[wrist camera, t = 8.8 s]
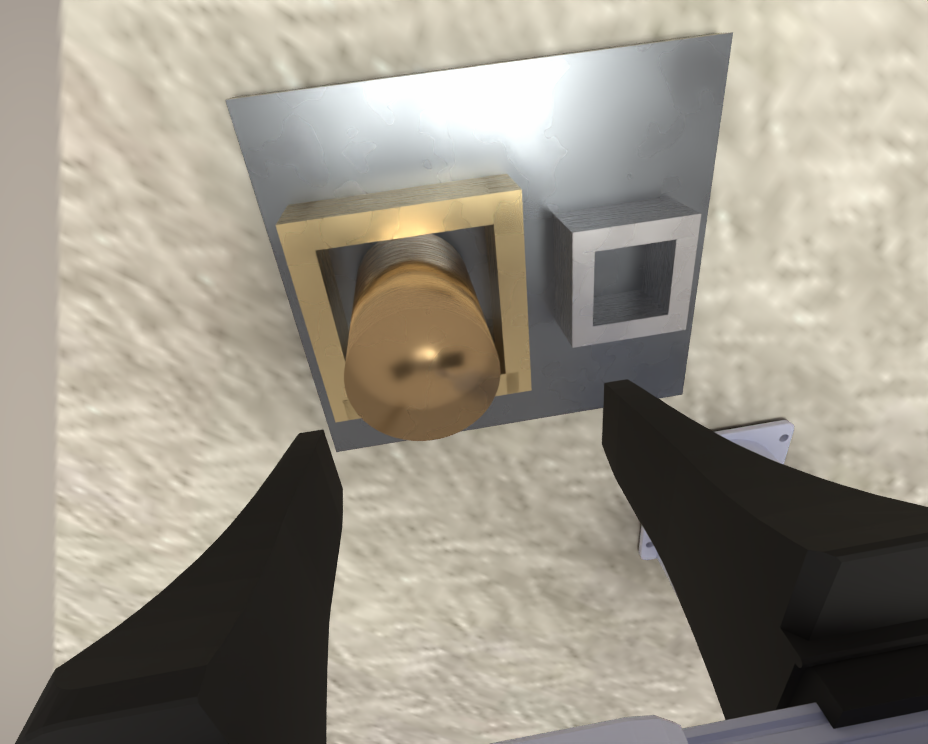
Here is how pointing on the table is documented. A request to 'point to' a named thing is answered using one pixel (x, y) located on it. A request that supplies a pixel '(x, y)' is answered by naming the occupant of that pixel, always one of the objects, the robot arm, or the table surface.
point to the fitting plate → (505, 210)
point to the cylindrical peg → (418, 342)
